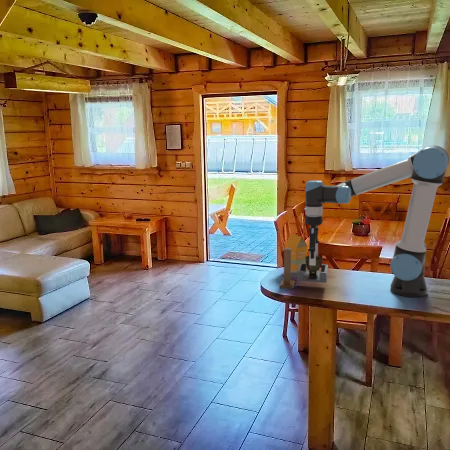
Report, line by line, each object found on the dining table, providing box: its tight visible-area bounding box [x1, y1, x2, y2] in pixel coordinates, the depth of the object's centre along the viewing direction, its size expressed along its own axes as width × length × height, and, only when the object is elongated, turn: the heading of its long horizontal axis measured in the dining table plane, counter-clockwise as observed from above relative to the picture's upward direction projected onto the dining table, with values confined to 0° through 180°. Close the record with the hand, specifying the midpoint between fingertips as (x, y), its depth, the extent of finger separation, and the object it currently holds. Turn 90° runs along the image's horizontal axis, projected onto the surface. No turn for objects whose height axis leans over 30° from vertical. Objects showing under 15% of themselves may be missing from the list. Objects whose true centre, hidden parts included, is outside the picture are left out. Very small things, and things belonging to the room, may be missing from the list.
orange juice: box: [284, 233, 308, 271], centre depth 225 cm, size 8×9×20 cm
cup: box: [305, 255, 322, 274], centre depth 206 cm, size 8×7×8 cm
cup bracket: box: [279, 247, 329, 290], centre depth 205 cm, size 21×13×18 cm, turn 74°
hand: (313, 261), depth 203 cm, fingers open, 13 cm apart
